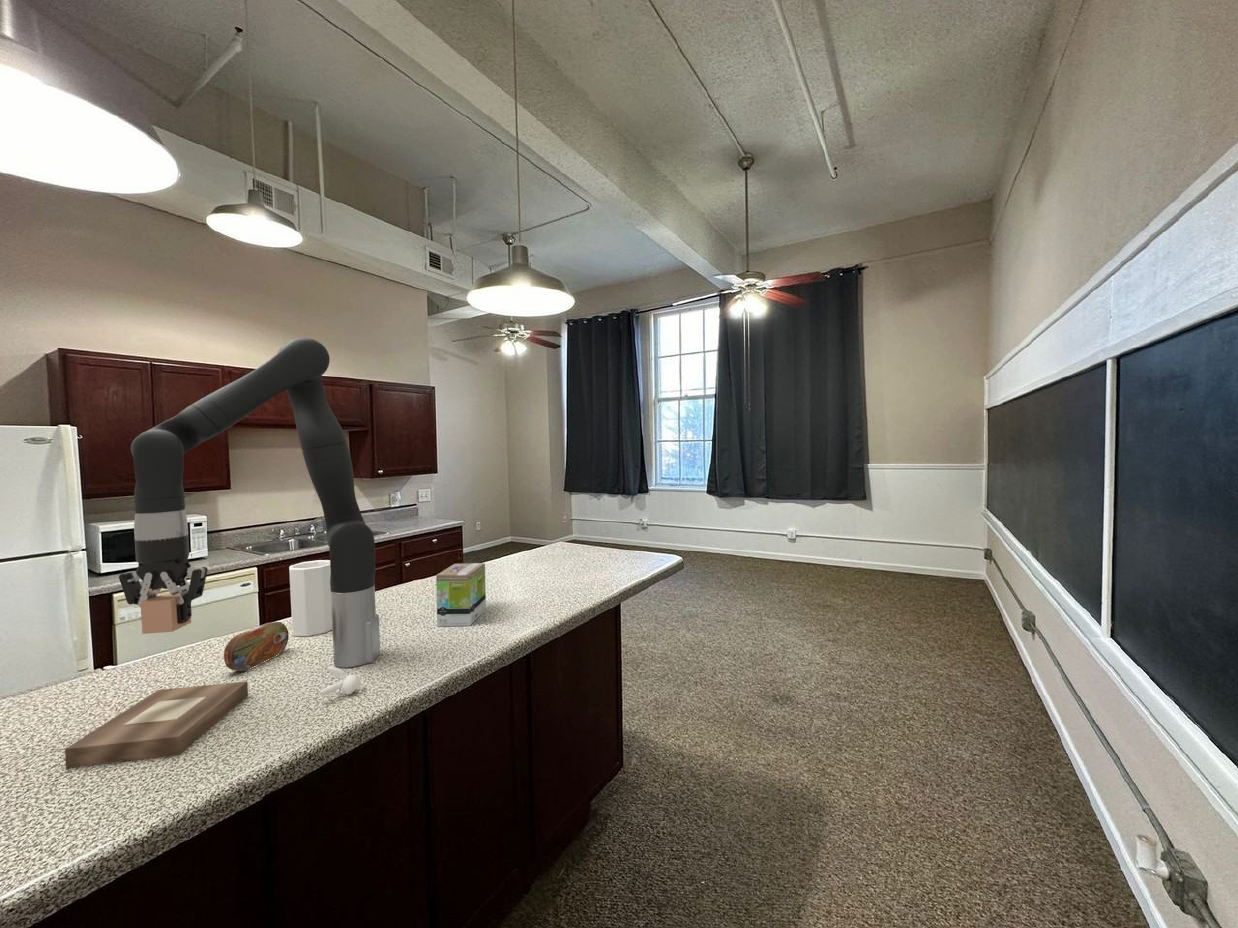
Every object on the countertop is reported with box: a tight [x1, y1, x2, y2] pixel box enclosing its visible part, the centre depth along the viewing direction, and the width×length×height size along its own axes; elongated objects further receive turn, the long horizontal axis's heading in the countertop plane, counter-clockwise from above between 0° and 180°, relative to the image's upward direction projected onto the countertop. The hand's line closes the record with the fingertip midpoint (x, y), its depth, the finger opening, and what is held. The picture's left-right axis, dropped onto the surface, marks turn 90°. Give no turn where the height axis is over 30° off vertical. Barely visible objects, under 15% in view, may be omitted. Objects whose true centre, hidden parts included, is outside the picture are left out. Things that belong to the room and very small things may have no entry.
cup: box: [288, 559, 332, 637], centre depth 140 cm, size 11×11×18 cm
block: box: [140, 593, 192, 635], centre depth 95 cm, size 5×5×6 cm
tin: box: [223, 621, 290, 672], centre depth 118 cm, size 15×3×8 cm, turn 168°
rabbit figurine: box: [319, 665, 365, 698], centre depth 101 cm, size 6×4×8 cm
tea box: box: [435, 562, 487, 627], centre depth 146 cm, size 15×10×15 cm, turn 179°
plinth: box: [64, 680, 249, 768], centre depth 91 cm, size 16×20×3 cm
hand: (167, 623), depth 95 cm, fingers closed on block, 5 cm apart
